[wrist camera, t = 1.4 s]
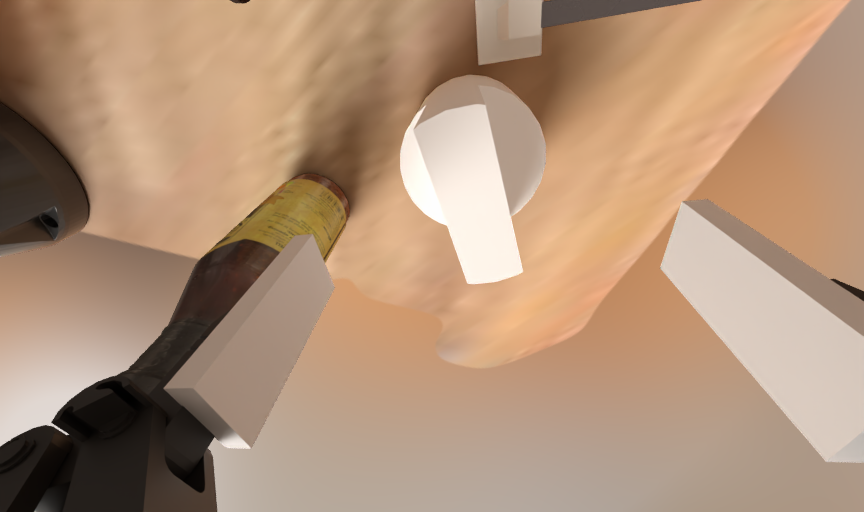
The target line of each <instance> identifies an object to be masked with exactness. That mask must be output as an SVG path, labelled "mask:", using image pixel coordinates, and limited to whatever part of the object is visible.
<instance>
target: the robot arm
mask: <svg viewBox="0 0 864 512" xmlns="http://www.w3.org/2000/svg"><path fill="white" fill-rule="evenodd" d="M87 219H88V204H87V200H86V196H85V193H84V191H83V189H82V186H81V184H80V182H79V181H78V179H77V177H76V175H75V174H74V172H73V171H72V169H71V168H70V166H69V165H68V164H67V162H66V161H65V160H64V158H63V157H62V156H61V155H60V154H59V152H58V151H57V150H56V149H55V148H54V147H53V146H52V145H51V144H50V143H49V142H48V141H47V140H46V139H45V138H44V137H43V136H42V135H41V134H40V133H39V132H38V131H37V130H36V129H35V128H33V127H32V126H31V125H30V124H29V123H27V122H26V121H25V120H24V119H22V118H21V117H20V116H19V115H17V114H16V113H14V112H13V111H12V110H10V109H9V108H7V107H6V106H4V105H3V104H1V103H0V257H4V256H9V255H14V254H18V253H23V252H27V251H33V250H37V249H42V248H46V247H49V246H52V245H55V244H57V243H59V242H61V241H63V240H65V239H67V238H69V237H71V236H73V235H75V234H77V233H78V232H80V231H81V230H82V229H83V227H84V226H85V224H86V222H87ZM660 268H661V270H662V271H663V272H664V273H665V274H666V275H667V277H668V278H669V279H670V280H671V281H672V282H673V284H674V285H675V286H676V287H677V288H678V289H679V291H680V292H681V293H682V294H683V295H684V296H685V298H686V299H687V300H688V301H689V302H690V303H691V304H692V306H693V307H694V308H695V309H696V310H697V312H698V313H699V314H700V315H701V316H702V317H703V319H704V320H705V321H706V322H707V323H708V324H709V326H710V327H711V328H712V329H713V330H714V331H715V333H716V334H717V335H718V336H719V337H720V338H721V340H722V341H723V342H724V343H725V344H726V345H727V347H729V349H730V350H731V351H732V352H733V354H734V355H735V356H736V357H737V358H738V359H739V361H740V362H741V363H742V364H743V365H744V366H745V368H747V370H748V371H749V372H750V373H751V375H752V376H753V377H754V378H755V379H756V380H757V382H758V383H759V384H760V385H761V386H762V387H763V389H764V390H765V391H766V392H767V393H768V394H769V395H770V397H771V398H772V399H773V400H774V401H775V402H776V404H777V405H778V406H779V407H780V408H781V409H782V411H783V412H784V413H785V414H786V415H787V417H788V418H789V419H790V420H791V421H792V422H793V423H794V425H795V426H796V427H797V428H798V429H799V431H800V432H801V433H802V434H803V435H804V436H805V437H806V439H807V440H808V441H809V442H810V443H811V445H812V446H813V447H814V448H815V449H816V450H817V452H818V453H819V454H820V455H821V456H822V457H823V458H824V460H825V461H826V462H862V463H863V462H864V291H862V290H859V289H857V288H854V287H852V286H850V285H847V284H845V283H843V282H840V281H838V280H836V279H829V278H827V277H826V276H824V275H822V274H821V273H820V272H818V271H817V270H815V269H814V268H812V267H810V266H809V265H807V264H806V263H804V262H803V261H801V260H799V259H798V258H797V257H795V256H794V255H792V254H791V253H789V252H788V251H786V250H784V249H783V248H782V247H780V246H778V245H777V244H775V243H774V242H772V241H771V240H769V239H767V238H766V237H765V236H763V235H762V234H760V233H759V232H757V231H756V230H754V229H753V228H751V227H749V226H748V225H746V224H745V223H743V222H742V221H740V220H738V219H737V218H736V217H734V216H732V215H731V214H730V213H728V212H726V211H725V210H723V209H722V208H721V207H719V206H717V205H716V204H714V203H713V202H711V201H710V200H708V199H704V200H694V201H682V203H681V206H680V209H679V212H678V215H677V218H676V221H675V224H674V227H673V230H672V233H671V236H670V239H669V242H668V246H667V249H666V252H665V255H664V258H663V261H662V264H661V267H660ZM334 288H335V287H334V284H333V282H332V279H331V277H330V274H329V272H328V270H327V267H326V265H325V262H324V260H323V257H322V255H321V253H320V250H319V248H318V245H317V243H316V241H315V238H314V236H313V234H307V235H295V236H294V237H293V238H292V239H291V241H290V242H289V243H288V244H287V245H286V246H285V248H284V249H283V250H282V251H281V252H280V253H279V255H278V256H277V257H276V258H275V259H274V260H273V262H272V263H271V264H270V265H269V266H268V267H267V269H266V270H265V271H264V272H263V273H262V274H261V275H260V277H259V278H258V279H257V280H256V281H255V282H254V284H253V285H252V286H251V287H250V288H249V289H248V291H247V292H246V293H245V294H244V295H243V296H242V298H241V299H240V300H239V301H238V302H237V303H236V305H235V306H234V307H233V308H232V309H231V310H230V311H227V312H226V313H225V314H223V315H222V316H221V317H219V318H218V319H217V320H215V321H214V322H213V323H212V324H211V325H210V326H209V327H208V328H207V329H206V330H205V331H204V333H203V334H202V335H201V336H200V339H197V340H196V342H195V343H194V344H193V345H192V346H191V347H190V351H187V352H186V353H185V354H184V355H183V356H182V357H181V359H180V360H179V361H178V362H177V363H176V364H175V365H174V366H173V368H172V369H171V370H170V371H169V372H168V373H167V374H166V375H165V377H164V378H163V379H162V380H161V381H160V382H159V383H158V384H157V386H156V387H155V388H154V389H153V390H152V391H151V392H150V394H149V395H147V394H146V393H145V392H144V391H142V390H141V389H140V388H139V387H138V386H137V385H136V384H135V383H133V382H132V381H131V380H130V379H129V378H127V377H125V376H122V375H121V376H112V377H109V378H106V379H104V380H101V381H98V382H96V383H95V384H93V385H91V386H89V387H88V388H86V389H84V390H83V391H81V392H80V393H79V394H77V395H76V396H75V397H73V398H72V399H71V400H69V401H68V402H67V404H65V405H64V406H63V407H62V408H61V409H60V411H58V413H57V415H56V416H55V418H54V419H53V421H52V423H53V424H54V425H56V426H57V427H59V428H60V429H62V430H63V431H65V432H67V433H68V434H69V435H65V434H64V433H62V432H61V431H59V430H57V429H56V428H54V427H52V426H47V425H45V426H40V427H36V428H33V429H31V430H29V431H27V432H24V433H22V434H20V435H18V436H16V437H14V438H13V439H11V440H10V441H8V442H6V443H5V444H3V445H2V446H1V447H0V512H217V502H216V490H215V477H214V466H213V456H212V454H211V451H210V450H209V449H208V446H209V445H210V443H211V442H212V440H213V438H214V437H215V438H216V439H217V440H218V441H219V442H220V443H221V444H223V445H224V446H225V447H226V448H252V446H253V444H254V443H255V441H256V439H257V437H258V435H259V433H260V431H261V429H262V427H263V425H264V423H265V421H266V419H267V417H268V416H269V413H270V412H271V410H272V408H273V406H274V403H275V402H276V400H277V398H278V396H279V394H280V392H281V390H282V389H283V387H284V385H285V383H286V381H287V379H288V377H289V375H290V373H291V371H292V369H293V367H294V365H295V364H296V362H297V360H298V358H299V356H300V354H301V352H302V350H303V348H304V346H305V344H306V342H307V340H308V338H309V336H310V335H311V332H312V330H313V329H314V327H315V325H316V323H317V321H318V319H319V317H320V315H321V313H322V311H323V309H324V307H325V306H326V304H327V302H328V300H329V298H330V296H331V294H332V292H333V290H334Z"/></svg>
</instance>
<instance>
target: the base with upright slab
mask: <svg viewBox="0 0 864 512" xmlns="http://www.w3.org/2000/svg"><path fill="white" fill-rule="evenodd" d="M545 164H546V143H545V140H544V136H543V133H542V129H541V126H540V124H539V122H538V121H537V119H536V118H535V116H534V115H533V113H532V112H531V110H530V108H529V107H528V106H527V105H526V104H525V103H524V102H523V101H522V100H521V99H520V98H519V97H518V96H517V95H516V94H515V93H514V92H513V91H511V90H510V89H509V88H508V87H507V86H505V85H504V84H503V83H502V82H500V81H497V80H495V79H492V78H490V77H487V76H481V75H465V76H460V77H456V78H452V79H450V80H448V81H447V82H445V83H443V84H441V85H439V86H438V87H436V88H435V89H434V90H433V91H432V92H431V93H430V94H429V95H428V96H427V97H426V98H425V100H424V102H423V103H422V105H421V107H420V108H419V110H418V112H417V114H416V115H415V117H414V119H413V120H412V122H411V124H410V125H409V127H408V129H407V131H406V132H405V136H404V140H403V143H402V147H401V151H400V170H401V174H402V178H403V182H404V186H405V188H406V190H407V192H408V193H409V195H410V197H411V199H412V200H413V202H414V203H415V204H416V205H417V206H418V207H419V208H420V209H421V210H422V211H423V212H424V213H425V214H426V215H427V216H429V217H431V218H432V219H434V220H435V221H437V222H439V223H441V224H444V225H447V227H448V230H449V233H450V235H451V238H452V241H453V244H454V247H455V249H456V252H457V255H458V258H459V261H460V264H461V266H462V269H463V272H464V275H465V278H466V280H467V283H468V284H480V283H490V282H497V281H500V280H503V279H507V278H510V277H513V276H516V275H518V274H520V273H522V272H523V269H522V265H521V260H520V256H519V251H518V247H517V243H516V238H515V234H514V229H513V225H512V220H511V216H513V215H514V214H516V213H517V212H519V211H520V210H521V209H522V208H523V207H524V205H525V204H526V203H527V202H528V201H529V200H530V199H531V198H532V196H533V195H534V193H535V191H536V189H537V188H538V186H539V184H540V182H541V179H542V175H543V172H544V168H545Z"/></svg>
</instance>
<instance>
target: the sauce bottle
mask: <svg viewBox="0 0 864 512" xmlns="http://www.w3.org/2000/svg"><path fill="white" fill-rule="evenodd" d="M349 213H350V210H349V204H348V201H347V199H346V197H345V195H344V193H343V191H342V190H341V189H340V188H339V186H337V185H336V184H335V183H334V182H333V181H331V180H329V179H327V178H325V177H324V176H319V175H317V174H302V175H299V176H297V177H294V178H292V179H291V180H289V181H287V182H285V183H284V184H282V185H281V186H280V187H279V188H278V189H277V190H276V191H275V192H273V193H272V194H271V195H270V196H269V197H268V198H267V199H266V200H265V201H264V202H263V203H261V204H260V205H259V206H258V207H257V208H256V209H255V210H254V211H252V212H251V213H250V214H249V215H248V216H247V217H246V218H245V219H244V220H243V221H241V222H240V223H239V224H238V225H237V226H236V227H235V228H234V229H232V230H231V231H230V232H229V233H228V234H227V235H226V236H225V237H224V238H223V239H222V240H221V241H219V242H218V243H217V244H216V245H215V246H214V247H213V248H212V249H211V250H210V251H209V252H208V253H206V254H205V255H204V256H203V257H202V258H201V259H200V260H199V261H198V262H197V264H196V265H195V267H194V269H193V271H192V273H191V276H190V278H189V280H188V282H187V284H186V287H185V289H184V291H183V293H182V296H181V298H180V300H179V302H178V304H177V306H176V309H175V311H174V313H173V315H172V318H171V320H170V322H169V325H168V326H167V327H166V328H165V329H164V330H163V331H162V334H161V335H160V336H159V337H158V338H157V339H156V340H155V342H154V343H153V344H152V345H151V346H150V347H149V348H148V349H147V350H146V351H145V352H144V353H143V354H142V355H141V356H140V357H139V359H138V360H137V361H136V362H135V363H134V364H133V365H131V366H130V368H129V369H128V370H126V371H124V372H122V373H120V374H118V375H117V376H121V375H122V376H125V377H127V378H129V379H130V380H131V381H132V382H133V383H135V384H136V385H137V386H138V387H139V388H140V389H141V390H142V391H144V392H145V393H146V394H147V395H149V394H150V392H151V391H152V390H153V389H154V388H155V387H156V386H157V384H158V383H159V382H160V381H161V380H162V379H163V378H164V377H165V375H166V374H167V373H168V372H169V371H170V370H171V369H172V368H173V366H174V365H175V364H176V363H177V362H178V361H179V360H180V359H181V357H182V356H183V355H184V354H185V353H186V352H187V351H190V347H191V346H192V345H193V344H194V343H195V342H196V340H197V339H200V336H201V335H202V334H203V333H204V331H205V330H206V329H207V328H208V327H209V326H210V325H211V324H212V323H213V322H214V321H215V320H217V319H218V318H219V317H221V316H222V315H223V314H225V313H226V312H227V311H230V310H231V309H232V308H233V307H234V306H235V305H236V303H237V302H238V301H239V300H240V299H241V298H242V296H243V295H244V294H245V293H246V292H247V291H248V289H249V288H250V287H251V286H252V285H253V284H254V282H255V281H256V280H257V279H258V278H259V277H260V275H261V274H262V273H263V272H264V271H265V270H266V269H267V267H268V266H269V265H270V264H271V263H272V262H273V260H274V259H275V258H276V257H277V256H278V255H279V253H280V252H281V251H282V250H283V249H284V248H285V246H286V245H287V244H288V243H289V242H290V241H291V239H292V238H293V237H294V236H295V235H307V234H313V236H314V238H315V241H316V243H317V245H318V248H319V250H320V253H321V255H322V257H323V260H324V262H326V261H327V259H328V257H329V255H330V254H331V252H332V250H333V248H334V247H335V245H336V243H337V241H338V239H339V238H340V236H341V234H342V232H343V231H344V229H345V226H346V222H347V220H348V217H349Z"/></svg>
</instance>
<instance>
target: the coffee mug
mask: <svg viewBox="0 0 864 512" xmlns="http://www.w3.org/2000/svg"><path fill="white" fill-rule="evenodd" d="M231 1H232V2H234V3H247V2H249V1H250V0H231Z"/></svg>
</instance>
